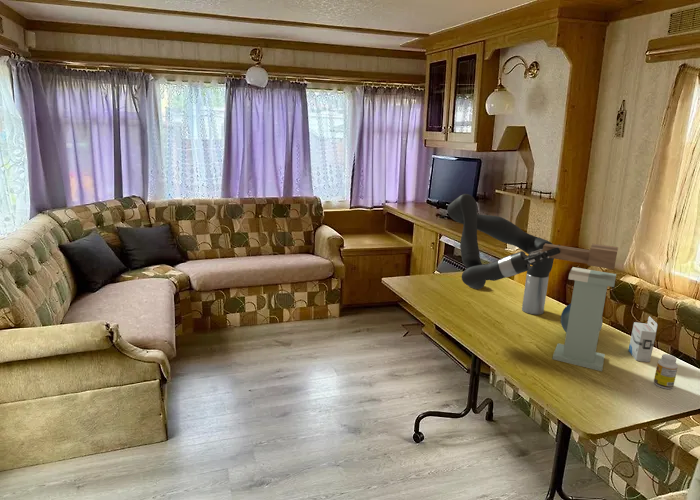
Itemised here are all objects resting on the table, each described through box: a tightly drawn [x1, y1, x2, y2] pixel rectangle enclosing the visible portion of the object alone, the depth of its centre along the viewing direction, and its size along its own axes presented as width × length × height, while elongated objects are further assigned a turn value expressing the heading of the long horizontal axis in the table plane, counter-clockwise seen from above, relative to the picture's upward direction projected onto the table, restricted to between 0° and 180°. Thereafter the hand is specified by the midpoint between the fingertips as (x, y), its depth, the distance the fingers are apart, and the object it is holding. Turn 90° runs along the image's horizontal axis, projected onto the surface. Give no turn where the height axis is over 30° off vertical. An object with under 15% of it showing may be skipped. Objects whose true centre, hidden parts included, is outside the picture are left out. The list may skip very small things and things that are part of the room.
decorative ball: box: [560, 303, 603, 333], centre depth 194 cm, size 15×15×15 cm
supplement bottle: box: [653, 353, 679, 390], centre depth 160 cm, size 6×6×10 cm
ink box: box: [628, 316, 658, 363], centre depth 179 cm, size 9×5×15 cm, turn 168°
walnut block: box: [543, 243, 619, 270], centre depth 170 cm, size 8×23×6 cm, turn 60°
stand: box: [552, 266, 617, 372], centre depth 174 cm, size 12×16×32 cm
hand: (560, 248), depth 173 cm, fingers closed on walnut block, 4 cm apart
